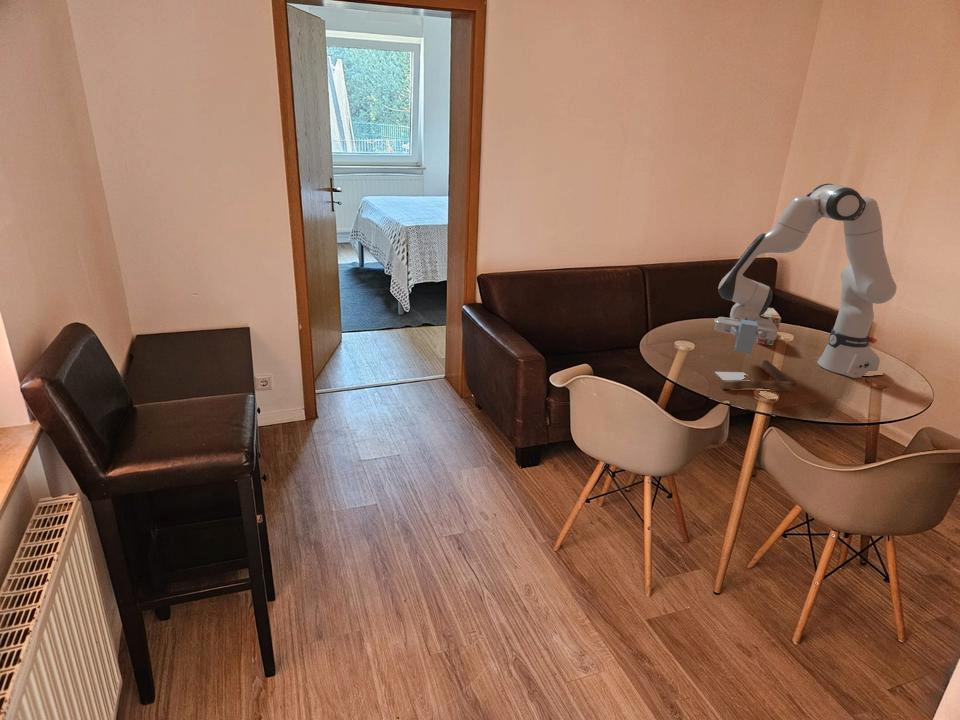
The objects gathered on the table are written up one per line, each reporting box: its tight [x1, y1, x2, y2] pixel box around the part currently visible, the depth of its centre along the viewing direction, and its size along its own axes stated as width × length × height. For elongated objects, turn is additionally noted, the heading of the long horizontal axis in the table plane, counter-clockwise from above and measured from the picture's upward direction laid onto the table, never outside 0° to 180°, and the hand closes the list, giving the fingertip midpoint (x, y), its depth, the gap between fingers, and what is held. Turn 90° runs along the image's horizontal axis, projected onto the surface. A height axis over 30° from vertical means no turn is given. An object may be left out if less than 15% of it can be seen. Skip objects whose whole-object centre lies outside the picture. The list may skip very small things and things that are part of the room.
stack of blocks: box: [755, 307, 782, 345], centre depth 252 cm, size 21×6×12 cm, turn 169°
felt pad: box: [714, 371, 747, 381], centre depth 212 cm, size 11×11×1 cm
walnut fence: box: [720, 359, 797, 392], centre depth 212 cm, size 26×19×3 cm
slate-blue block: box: [734, 319, 758, 354], centre depth 206 cm, size 5×5×10 cm
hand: (746, 335), depth 205 cm, fingers closed on slate-blue block, 5 cm apart
